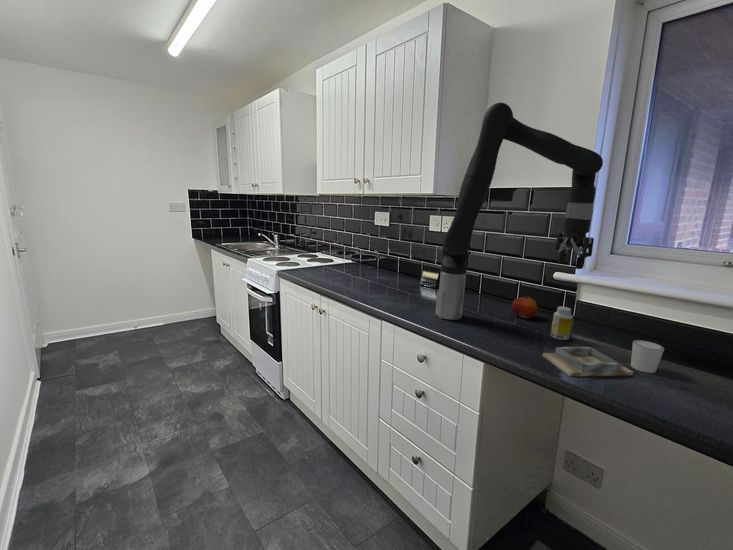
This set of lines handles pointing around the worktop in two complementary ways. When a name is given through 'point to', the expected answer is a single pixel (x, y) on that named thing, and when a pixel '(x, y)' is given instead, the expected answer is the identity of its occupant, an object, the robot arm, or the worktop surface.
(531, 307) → the tomato
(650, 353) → the shot glass
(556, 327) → the supplement bottle
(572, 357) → the holder
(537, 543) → the soap mold
